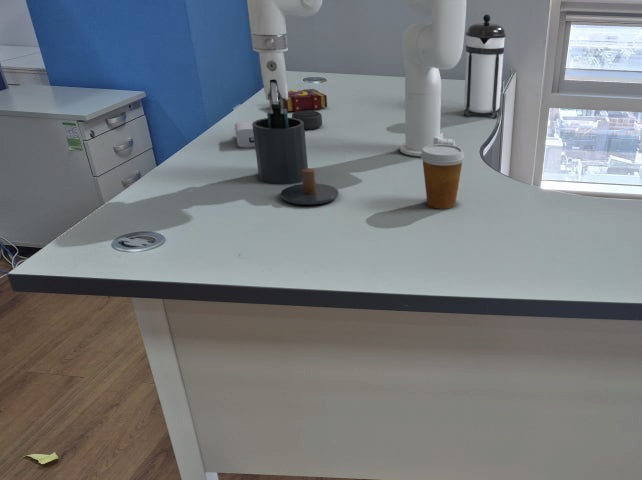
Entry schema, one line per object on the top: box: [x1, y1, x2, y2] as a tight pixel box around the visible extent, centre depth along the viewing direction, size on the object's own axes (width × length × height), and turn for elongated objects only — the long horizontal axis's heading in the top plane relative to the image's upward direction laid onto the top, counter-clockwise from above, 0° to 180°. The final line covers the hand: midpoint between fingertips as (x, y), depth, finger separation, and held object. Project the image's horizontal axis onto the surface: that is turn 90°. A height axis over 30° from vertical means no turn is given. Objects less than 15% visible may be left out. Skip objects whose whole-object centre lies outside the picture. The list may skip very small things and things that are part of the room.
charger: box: [234, 120, 255, 148], centre depth 183 cm, size 5×9×15 cm
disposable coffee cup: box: [420, 144, 466, 210], centre depth 142 cm, size 10×10×12 cm
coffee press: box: [463, 14, 507, 119], centre depth 214 cm, size 17×16×30 cm
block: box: [266, 108, 289, 128], centre depth 151 cm, size 4×4×4 cm
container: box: [252, 117, 309, 185], centre depth 155 cm, size 12×12×12 cm
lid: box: [280, 167, 339, 206], centre depth 144 cm, size 13×13×6 cm
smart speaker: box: [291, 109, 323, 130], centre depth 198 cm, size 9×9×4 cm
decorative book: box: [282, 88, 328, 112], centre depth 219 cm, size 11×16×5 cm
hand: (279, 128), depth 152 cm, fingers closed on block, 4 cm apart
